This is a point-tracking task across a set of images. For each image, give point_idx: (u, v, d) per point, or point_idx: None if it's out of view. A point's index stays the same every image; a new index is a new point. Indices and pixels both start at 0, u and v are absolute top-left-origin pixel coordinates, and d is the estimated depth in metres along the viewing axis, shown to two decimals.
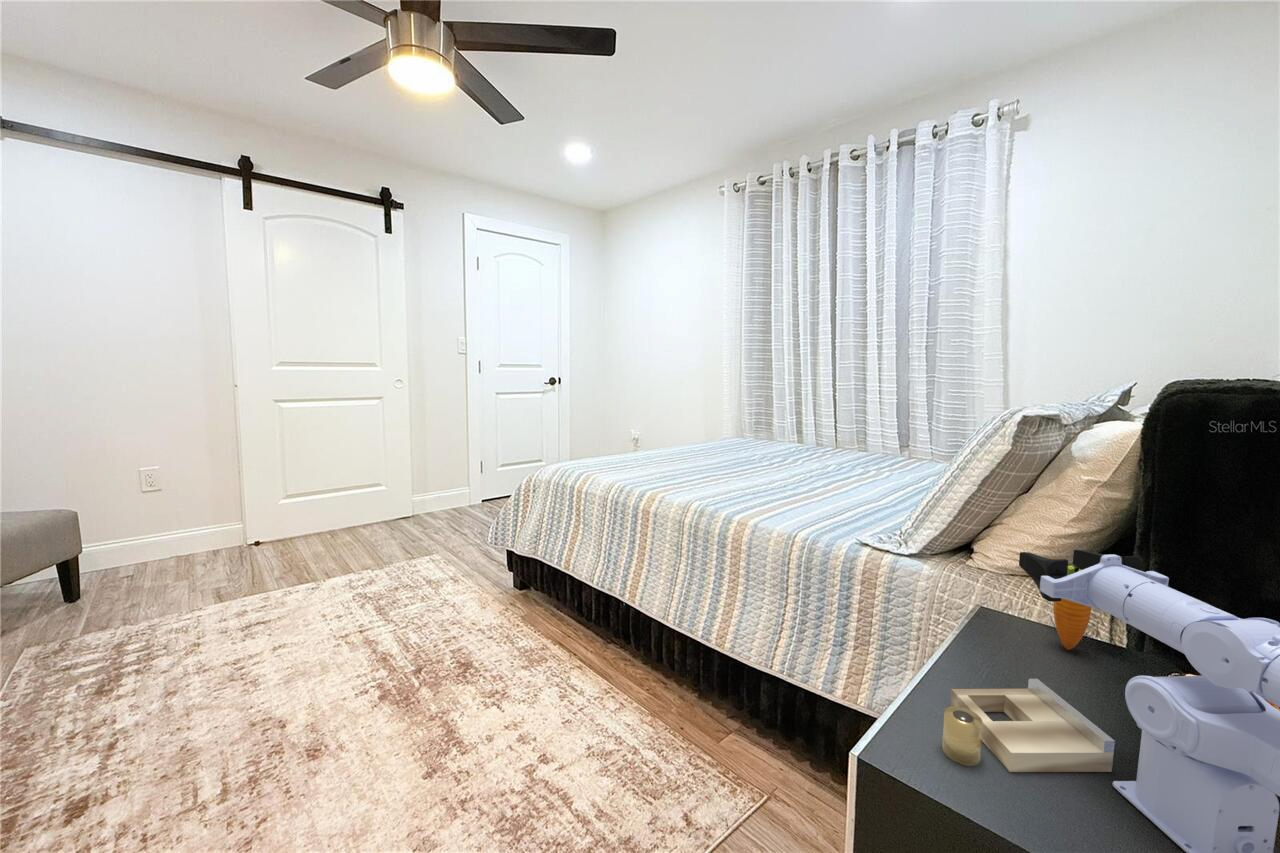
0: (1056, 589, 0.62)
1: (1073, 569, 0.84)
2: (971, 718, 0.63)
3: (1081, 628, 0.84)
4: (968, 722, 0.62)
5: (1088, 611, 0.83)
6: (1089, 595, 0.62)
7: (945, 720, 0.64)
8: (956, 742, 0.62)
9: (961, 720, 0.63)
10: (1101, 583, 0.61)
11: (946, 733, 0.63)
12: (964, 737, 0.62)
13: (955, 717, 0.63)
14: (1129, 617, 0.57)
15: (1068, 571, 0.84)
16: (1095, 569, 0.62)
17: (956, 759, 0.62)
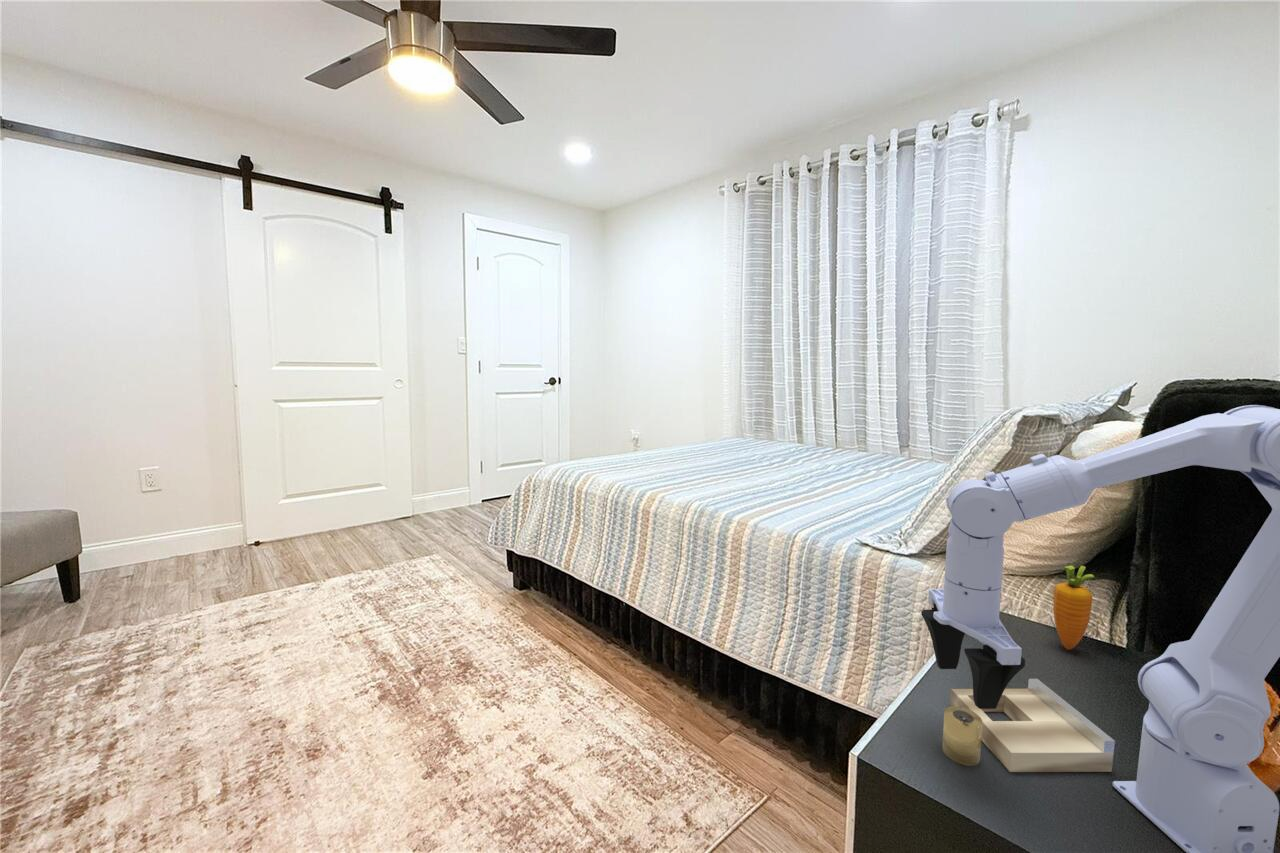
0: (1008, 645, 0.55)
1: (1073, 569, 0.84)
2: (971, 718, 0.63)
3: (1081, 628, 0.84)
4: (968, 722, 0.62)
5: (1088, 611, 0.83)
6: (992, 625, 0.59)
7: (945, 720, 0.64)
8: (956, 742, 0.62)
9: (961, 720, 0.63)
10: (973, 615, 0.59)
11: (946, 733, 0.63)
12: (964, 737, 0.62)
13: (955, 717, 0.63)
14: (986, 585, 0.58)
15: (1068, 571, 0.84)
16: (960, 624, 0.60)
17: (956, 759, 0.62)
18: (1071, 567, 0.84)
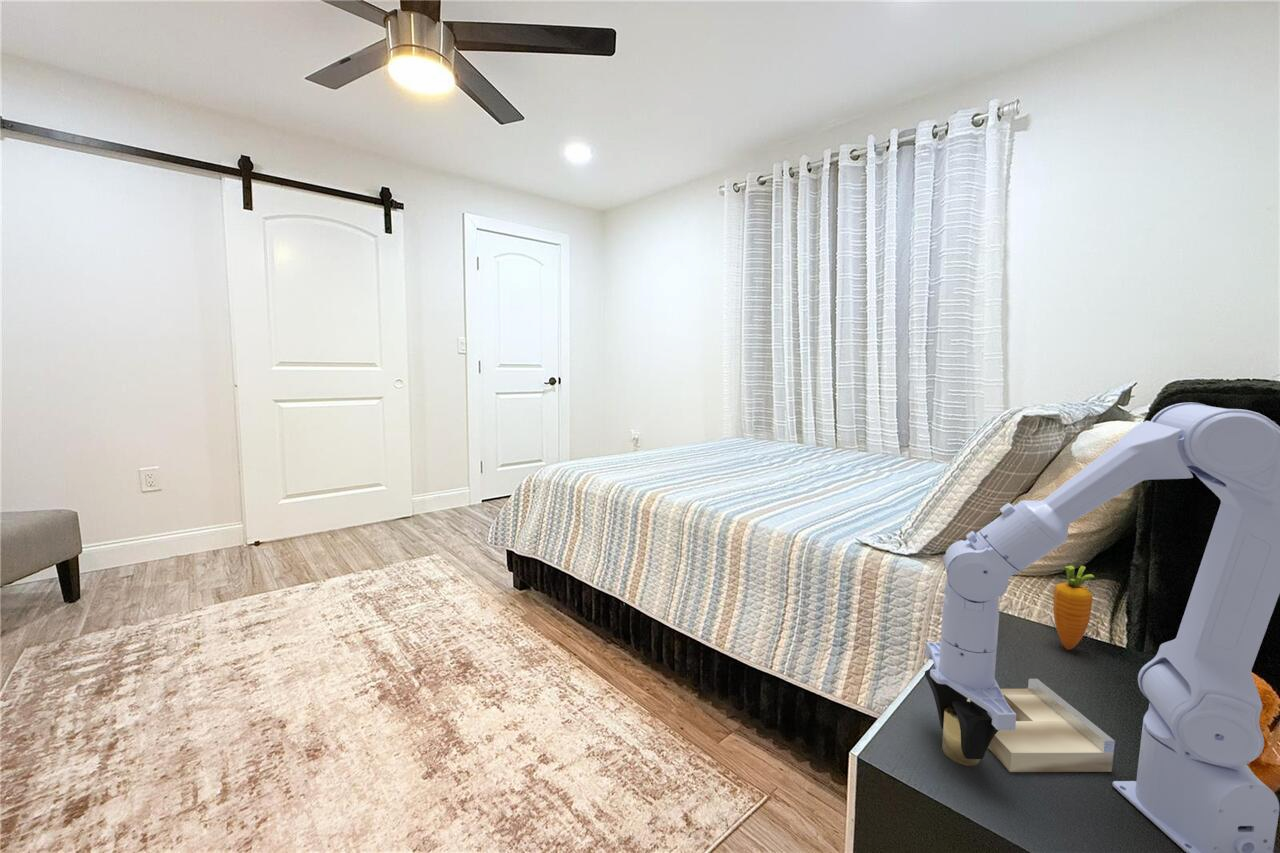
0: (1003, 711, 0.56)
1: (1073, 569, 0.84)
2: None
3: (1081, 628, 0.84)
4: None
5: (1088, 611, 0.83)
6: (987, 686, 0.60)
7: (945, 720, 0.64)
8: (956, 742, 0.62)
9: None
10: (969, 676, 0.60)
11: (946, 733, 0.63)
12: None
13: (955, 716, 0.63)
14: (981, 647, 0.59)
15: (1068, 571, 0.84)
16: (956, 685, 0.60)
17: (956, 759, 0.62)
18: (1071, 567, 0.84)
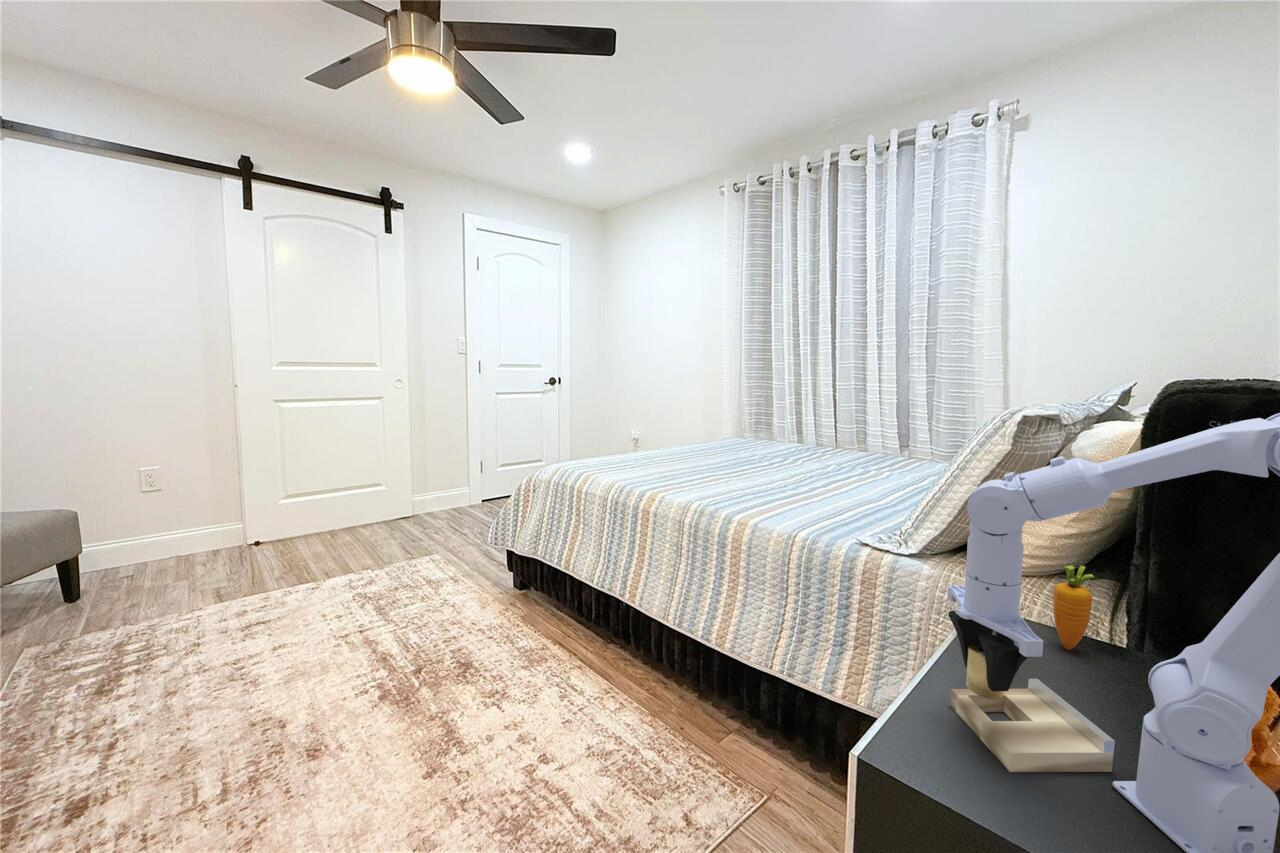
0: (1030, 638, 0.58)
1: (1073, 569, 0.84)
2: None
3: (1081, 628, 0.84)
4: None
5: (1088, 611, 0.83)
6: (1012, 619, 0.61)
7: (970, 656, 0.65)
8: (981, 676, 0.64)
9: None
10: (995, 609, 0.62)
11: (971, 669, 0.65)
12: None
13: (980, 652, 0.65)
14: (1000, 580, 0.61)
15: (1068, 571, 0.84)
16: (982, 618, 0.62)
17: (981, 693, 0.64)
18: (1071, 567, 0.84)
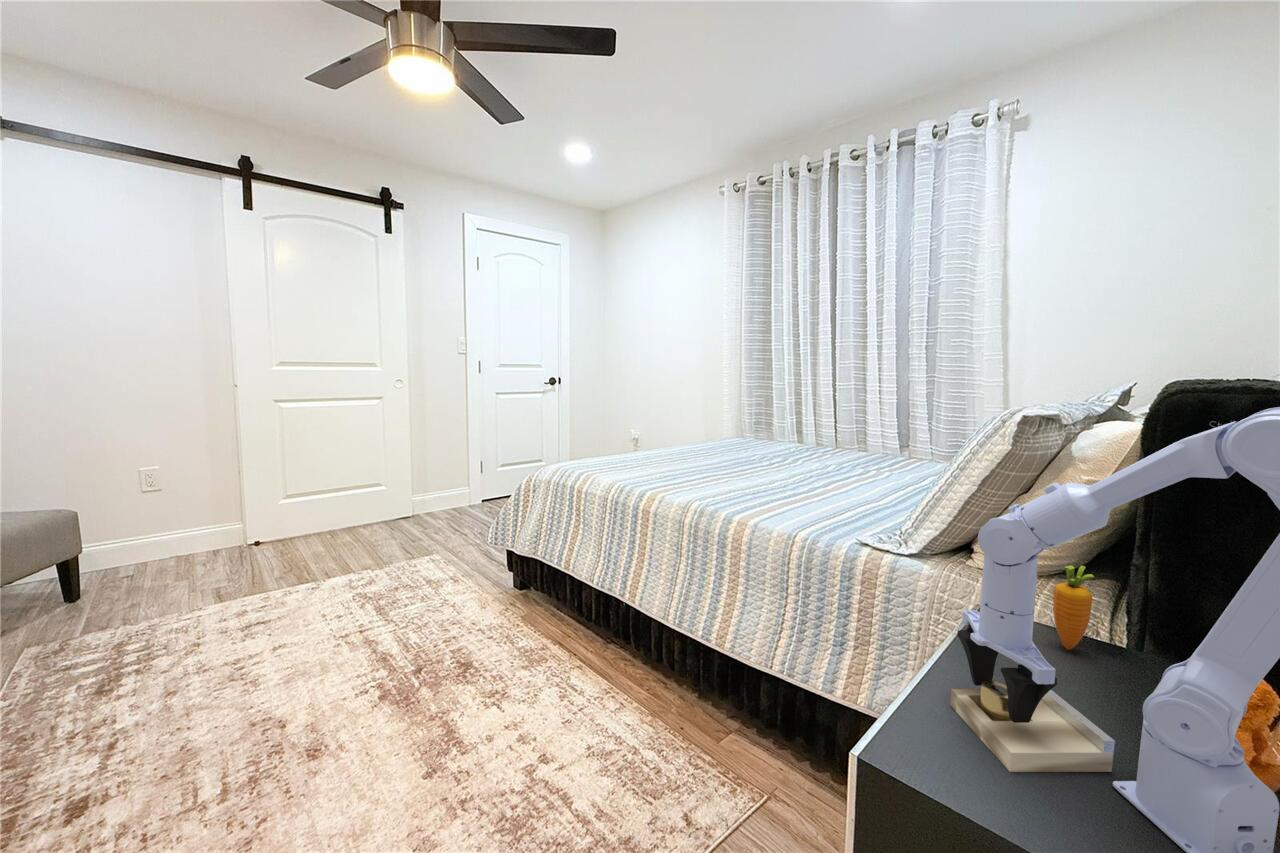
0: (1043, 666, 0.60)
1: (1073, 569, 0.84)
2: None
3: (1081, 628, 0.84)
4: (1005, 695, 0.67)
5: (1088, 611, 0.83)
6: (1026, 646, 0.64)
7: (983, 694, 0.68)
8: (994, 714, 0.67)
9: (998, 693, 0.67)
10: (1009, 637, 0.64)
11: (983, 707, 0.68)
12: (1002, 709, 0.66)
13: (992, 691, 0.68)
14: (1008, 608, 0.64)
15: (1068, 571, 0.84)
16: (996, 645, 0.65)
17: None
18: (1071, 567, 0.84)
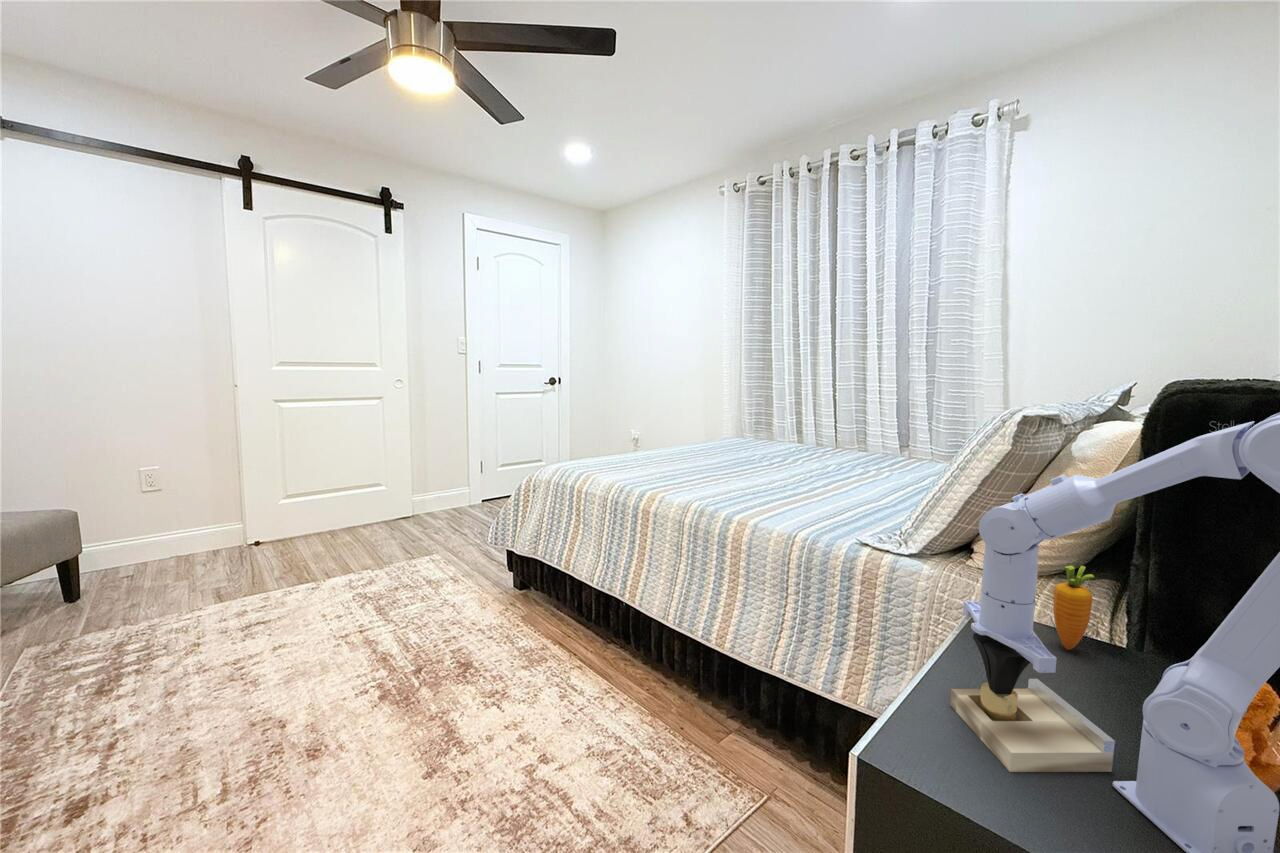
0: (1044, 655, 0.60)
1: (1073, 569, 0.84)
2: None
3: (1081, 628, 0.84)
4: (1005, 696, 0.67)
5: (1088, 611, 0.83)
6: (1026, 636, 0.64)
7: (983, 694, 0.68)
8: (993, 714, 0.67)
9: (998, 694, 0.67)
10: (1010, 626, 0.64)
11: (983, 707, 0.68)
12: (1002, 709, 0.66)
13: (992, 691, 0.68)
14: (1008, 597, 0.64)
15: (1068, 571, 0.84)
16: (997, 635, 0.65)
17: None
18: (1071, 567, 0.84)
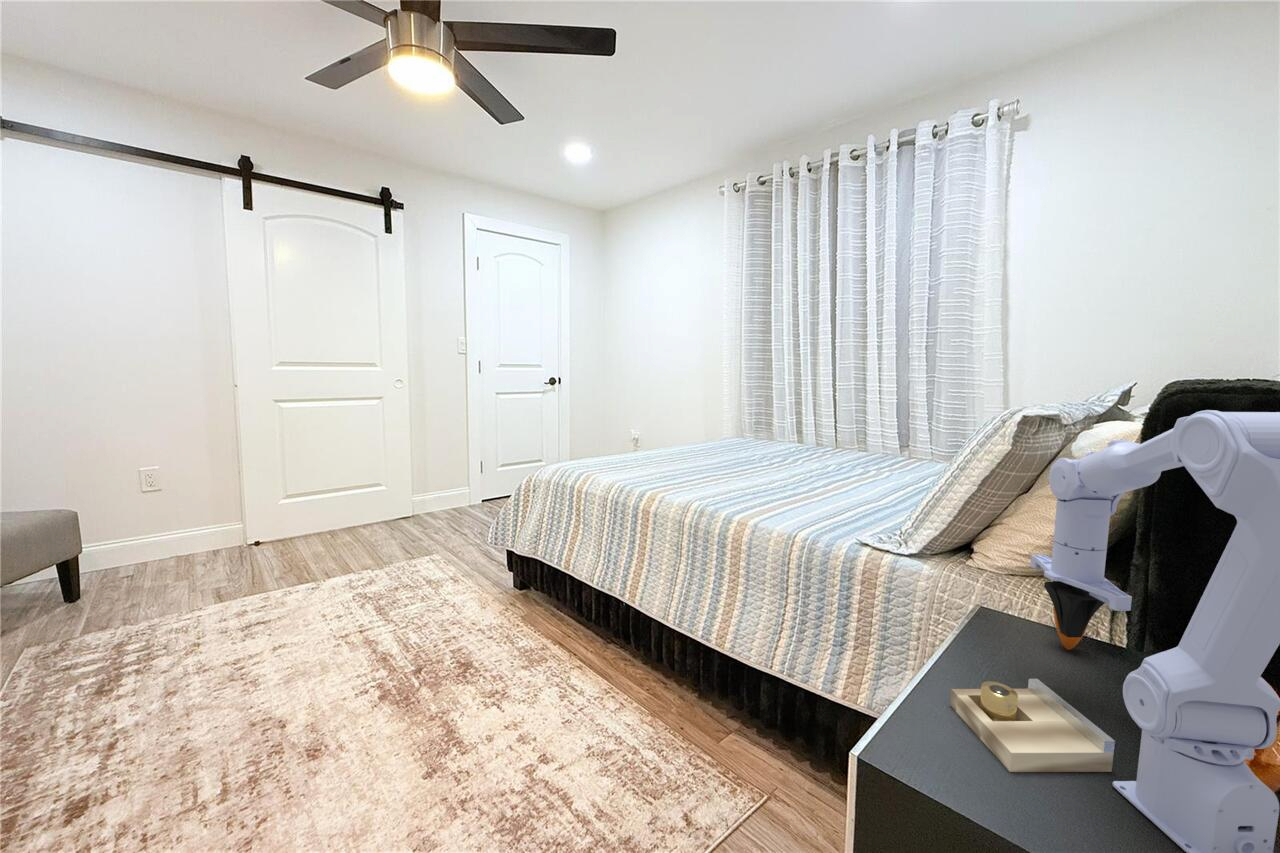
0: (1120, 595, 0.65)
1: None
2: (1007, 691, 0.68)
3: None
4: (1005, 695, 0.67)
5: None
6: (1099, 580, 0.69)
7: (983, 694, 0.68)
8: (994, 714, 0.67)
9: (998, 693, 0.67)
10: (1084, 572, 0.69)
11: (983, 707, 0.68)
12: (1002, 709, 0.66)
13: (992, 691, 0.68)
14: (1062, 540, 0.71)
15: None
16: (1071, 580, 0.70)
17: None
18: None
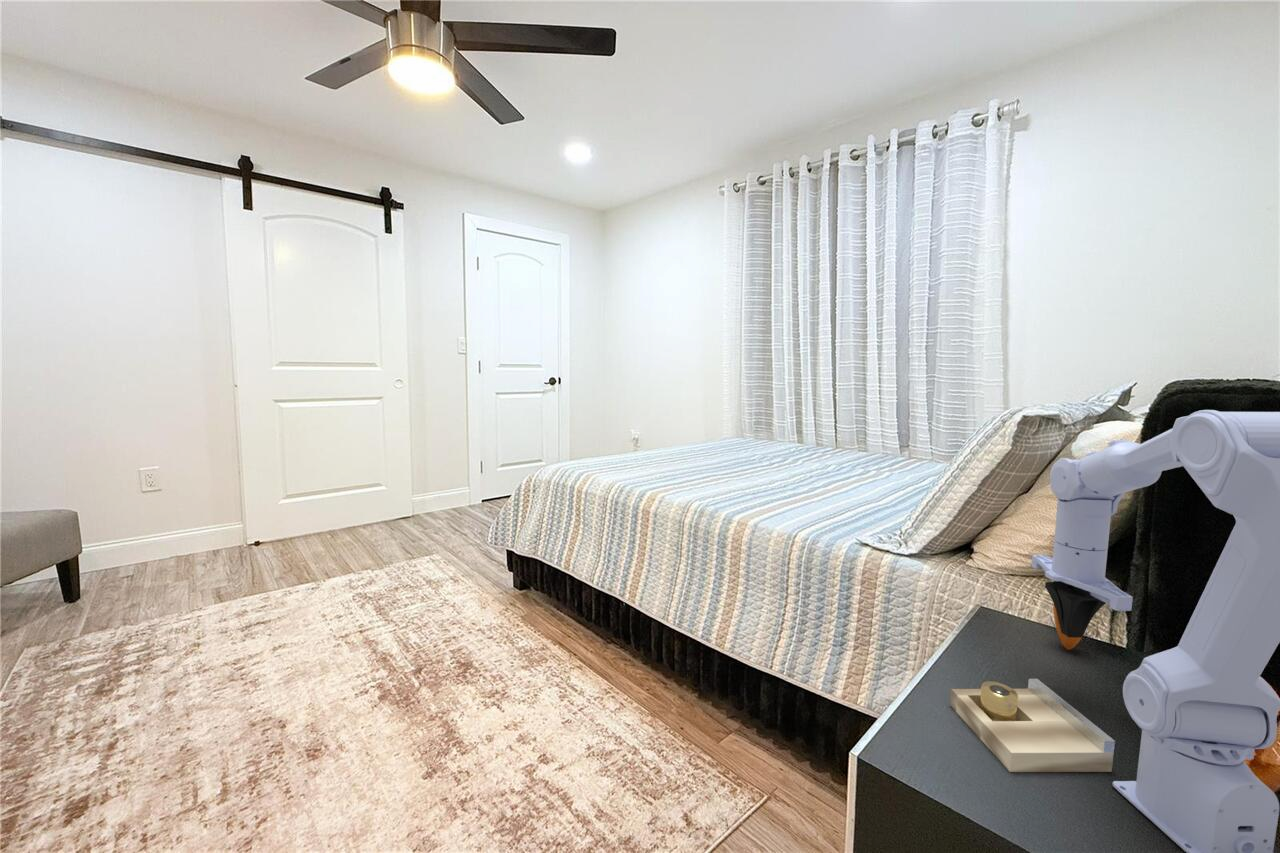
0: (1120, 595, 0.66)
1: None
2: (1007, 691, 0.68)
3: None
4: (1005, 695, 0.67)
5: None
6: (1100, 580, 0.69)
7: (983, 694, 0.68)
8: (994, 714, 0.67)
9: (998, 693, 0.67)
10: (1084, 572, 0.70)
11: (984, 707, 0.68)
12: (1002, 709, 0.66)
13: (992, 691, 0.68)
14: (1063, 540, 0.71)
15: None
16: (1072, 580, 0.70)
17: None
18: None
